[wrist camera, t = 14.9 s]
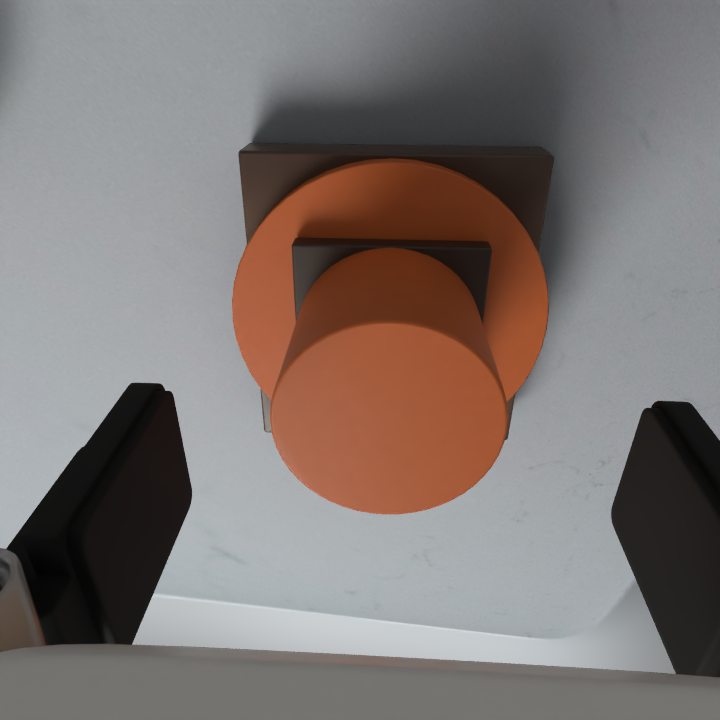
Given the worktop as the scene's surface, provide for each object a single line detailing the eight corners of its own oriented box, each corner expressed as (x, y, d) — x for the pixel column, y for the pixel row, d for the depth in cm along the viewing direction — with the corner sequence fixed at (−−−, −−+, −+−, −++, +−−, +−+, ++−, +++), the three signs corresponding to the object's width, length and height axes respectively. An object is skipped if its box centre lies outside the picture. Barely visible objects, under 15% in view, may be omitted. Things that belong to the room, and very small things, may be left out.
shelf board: (248, 142, 18) (237, 150, 16) (542, 146, 17) (555, 155, 16) (271, 410, 23) (264, 433, 21) (501, 417, 22) (507, 441, 21)
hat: (219, 155, 16) (139, 211, 11) (571, 160, 16) (660, 221, 11) (250, 435, 21) (204, 566, 16) (520, 444, 21) (564, 581, 16)
